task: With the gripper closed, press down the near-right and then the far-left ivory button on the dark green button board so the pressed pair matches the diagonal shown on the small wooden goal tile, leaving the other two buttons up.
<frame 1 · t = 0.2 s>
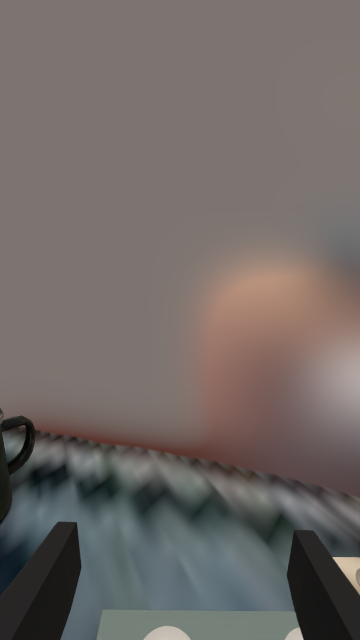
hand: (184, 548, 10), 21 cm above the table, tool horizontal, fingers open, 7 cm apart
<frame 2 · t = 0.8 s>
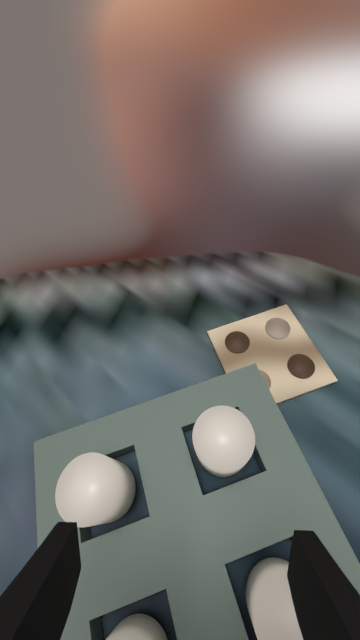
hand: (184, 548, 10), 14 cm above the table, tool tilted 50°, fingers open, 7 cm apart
button 3: (287, 610, 16), point 4 cm above the table, slide at 0.0 cm
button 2: (99, 489, 20), point 4 cm above the table, slide at 0.0 cm
button board: (187, 536, 21), on the table
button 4: (222, 442, 20), point 4 cm above the table, slide at 0.0 cm
goal tile: (267, 355, 28), on the table
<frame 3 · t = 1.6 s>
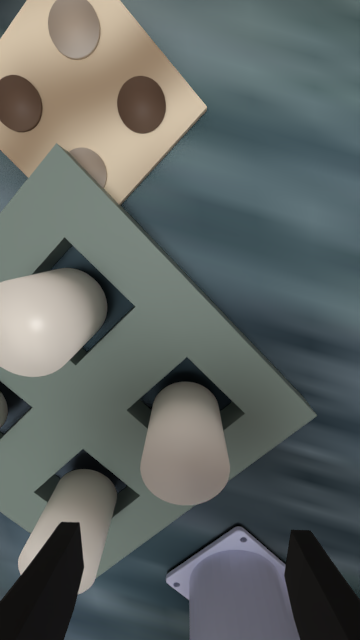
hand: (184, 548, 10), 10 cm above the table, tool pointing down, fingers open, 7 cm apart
button 3: (185, 436, 15), point 4 cm above the table, slide at 0.0 cm
button board: (90, 391, 19), on the table
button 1: (73, 526, 17), point 4 cm above the table, slide at 0.0 cm
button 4: (51, 315, 13), point 4 cm above the table, slide at 0.0 cm
goal tile: (82, 109, 15), on the table
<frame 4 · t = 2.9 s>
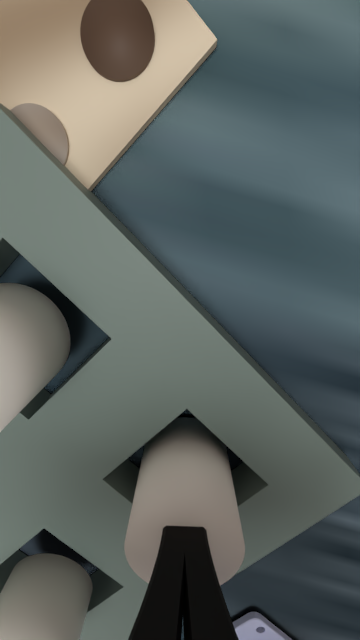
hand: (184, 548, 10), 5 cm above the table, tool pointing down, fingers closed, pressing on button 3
button 3: (184, 493, 12), point 3 cm above the table, slide at 1.7 cm, touching gripper
button board: (56, 445, 14), on the table
goal tile: (31, 46, 10), on the table
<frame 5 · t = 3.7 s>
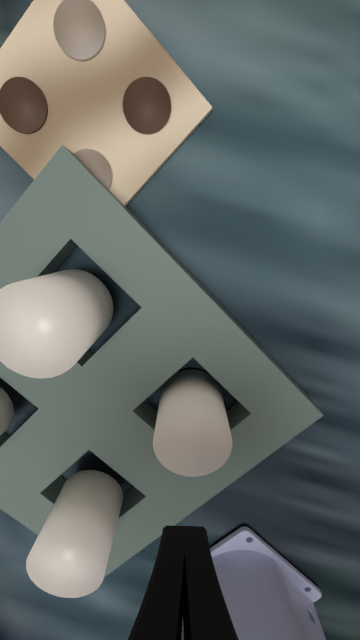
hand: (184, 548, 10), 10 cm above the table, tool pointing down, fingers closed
button 3: (191, 417, 17), point 3 cm above the table, slide at 1.7 cm
button board: (95, 392, 19), on the table
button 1: (80, 527, 17), point 4 cm above the table, slide at 0.0 cm
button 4: (58, 317, 13), point 4 cm above the table, slide at 0.0 cm
goal tile: (88, 110, 15), on the table
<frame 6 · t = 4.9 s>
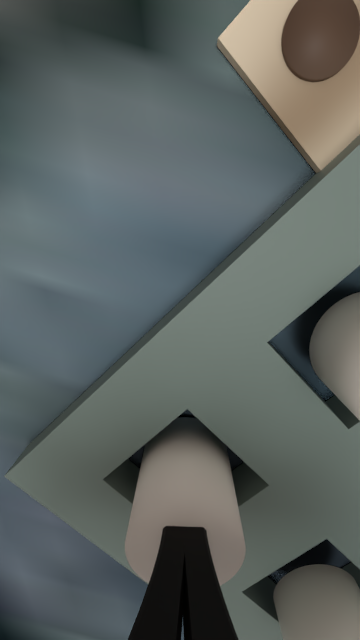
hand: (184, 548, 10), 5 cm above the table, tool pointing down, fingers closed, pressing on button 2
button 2: (185, 493, 12), point 3 cm above the table, slide at 1.7 cm, touching gripper
button board: (316, 453, 14), on the table
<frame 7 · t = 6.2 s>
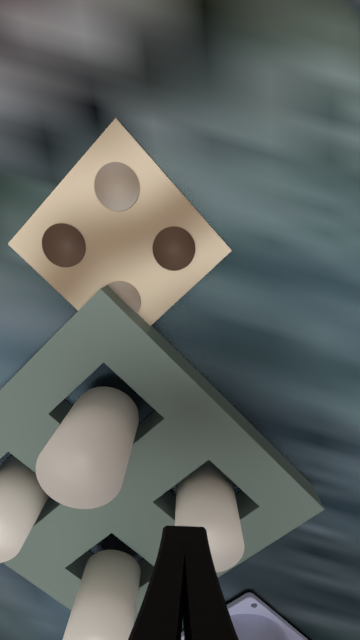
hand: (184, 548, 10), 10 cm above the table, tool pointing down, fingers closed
button 3: (206, 511, 19), point 3 cm above the table, slide at 1.7 cm
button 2: (10, 503, 19), point 3 cm above the table, slide at 1.7 cm
button board: (117, 476, 21), on the table
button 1: (104, 608, 19), point 4 cm above the table, slide at 0.0 cm
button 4: (94, 441, 15), point 4 cm above the table, slide at 0.0 cm
goal tile: (120, 247, 17), on the table
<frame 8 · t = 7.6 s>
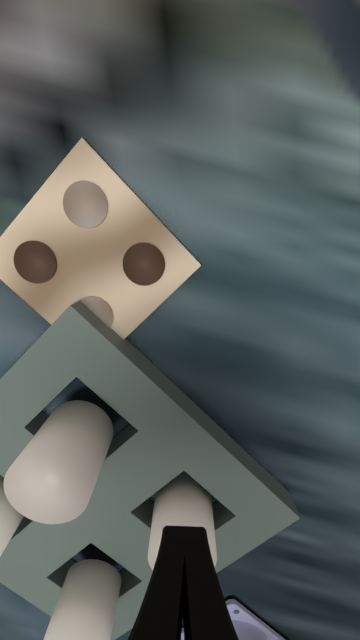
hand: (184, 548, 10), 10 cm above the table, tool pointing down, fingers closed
button 3: (182, 521, 19), point 3 cm above the table, slide at 1.7 cm
button board: (97, 486, 21), on the table
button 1: (83, 618, 19), point 4 cm above the table, slide at 0.0 cm
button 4: (66, 455, 16), point 4 cm above the table, slide at 0.0 cm
goal tile: (92, 262, 17), on the table
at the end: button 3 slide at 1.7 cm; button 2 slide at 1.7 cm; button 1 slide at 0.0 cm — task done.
